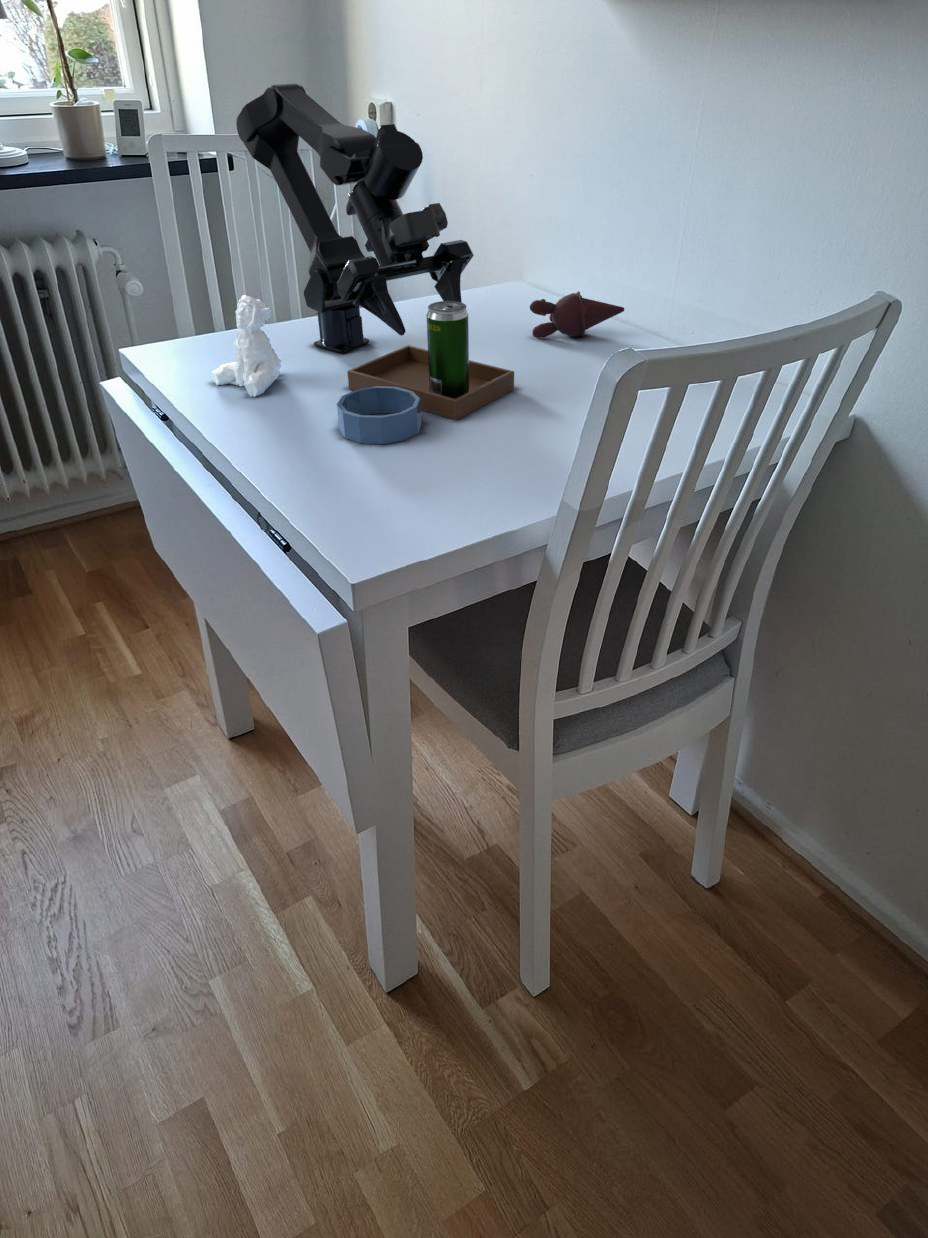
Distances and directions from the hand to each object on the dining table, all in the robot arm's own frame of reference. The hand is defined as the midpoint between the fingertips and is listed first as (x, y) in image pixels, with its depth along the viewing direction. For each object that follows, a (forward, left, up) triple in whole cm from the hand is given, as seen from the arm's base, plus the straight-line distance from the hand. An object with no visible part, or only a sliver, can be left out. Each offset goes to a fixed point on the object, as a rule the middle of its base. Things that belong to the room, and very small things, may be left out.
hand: (432, 326), depth 115 cm
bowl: (+2, -13, -9) cm, 16 cm away
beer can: (+3, -1, -9) cm, 9 cm away
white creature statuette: (-24, -12, -9) cm, 28 cm away
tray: (-1, +1, -9) cm, 9 cm away
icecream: (+3, +32, -9) cm, 34 cm away
